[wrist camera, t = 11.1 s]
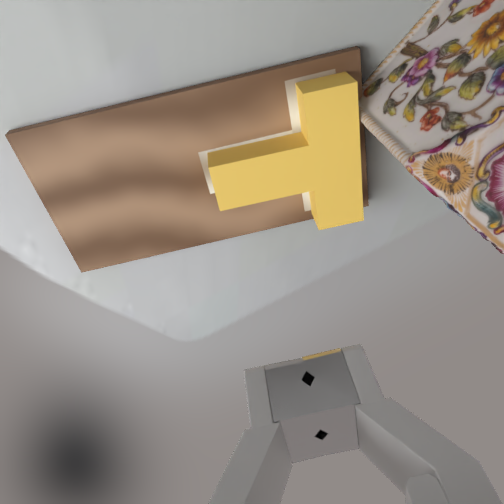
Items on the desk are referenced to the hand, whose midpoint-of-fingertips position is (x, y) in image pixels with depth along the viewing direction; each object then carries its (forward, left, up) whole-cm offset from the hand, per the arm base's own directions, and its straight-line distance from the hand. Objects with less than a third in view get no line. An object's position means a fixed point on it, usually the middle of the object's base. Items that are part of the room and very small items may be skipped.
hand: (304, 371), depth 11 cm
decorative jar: (+5, +17, -30) cm, 34 cm away
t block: (+7, +3, -28) cm, 29 cm away
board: (+7, -4, -29) cm, 30 cm away
